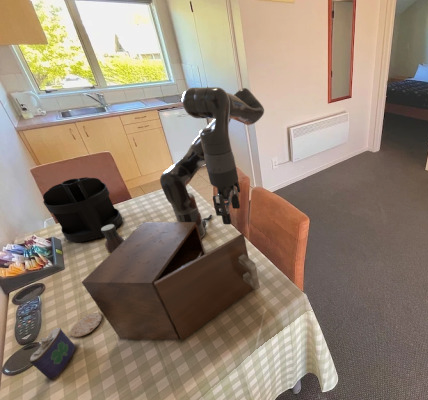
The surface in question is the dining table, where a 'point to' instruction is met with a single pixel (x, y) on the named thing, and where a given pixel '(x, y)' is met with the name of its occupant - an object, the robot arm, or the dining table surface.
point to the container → (82, 208)
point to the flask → (53, 354)
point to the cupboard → (143, 278)
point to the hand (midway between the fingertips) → (232, 215)
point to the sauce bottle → (111, 238)
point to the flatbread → (86, 325)
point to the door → (208, 285)
